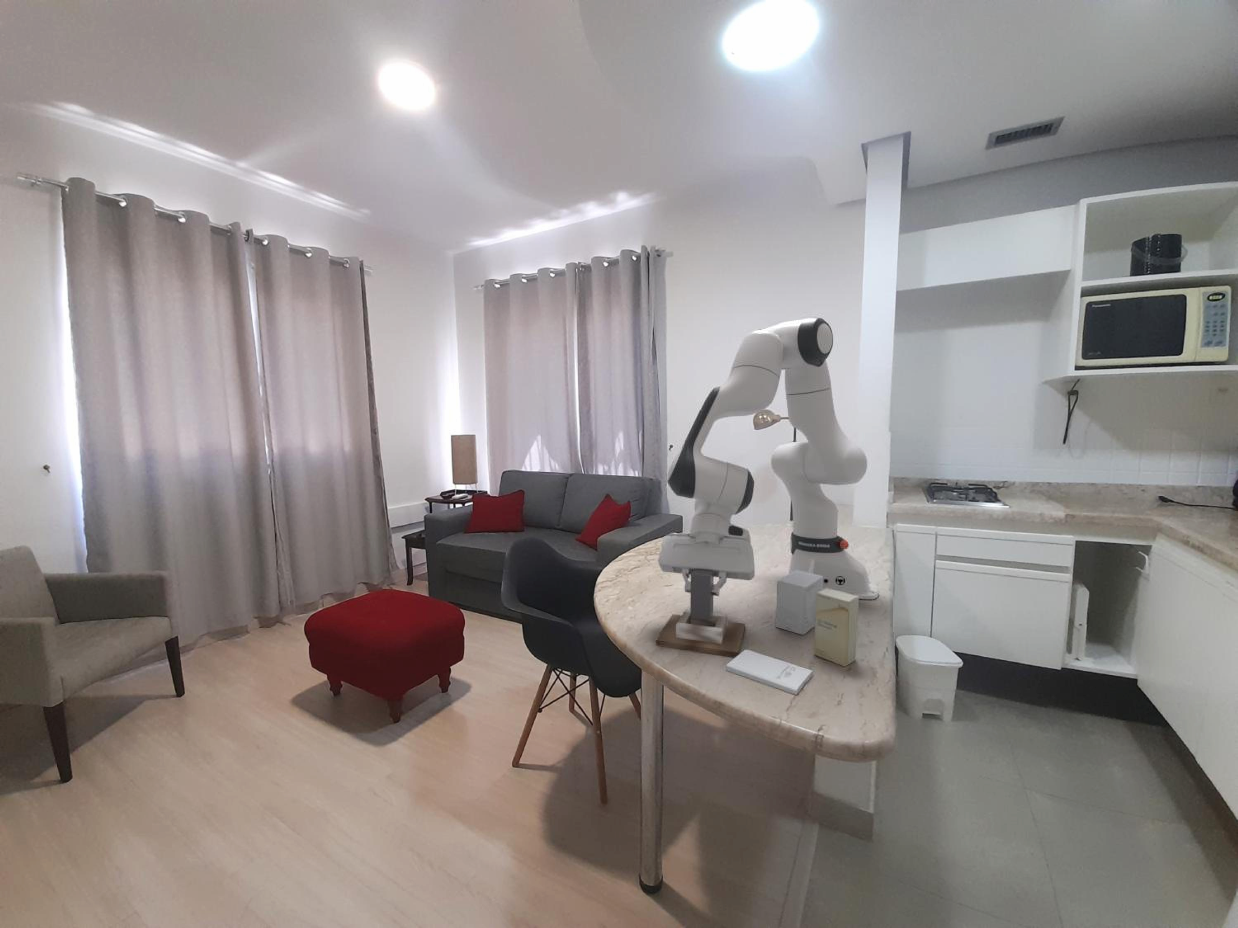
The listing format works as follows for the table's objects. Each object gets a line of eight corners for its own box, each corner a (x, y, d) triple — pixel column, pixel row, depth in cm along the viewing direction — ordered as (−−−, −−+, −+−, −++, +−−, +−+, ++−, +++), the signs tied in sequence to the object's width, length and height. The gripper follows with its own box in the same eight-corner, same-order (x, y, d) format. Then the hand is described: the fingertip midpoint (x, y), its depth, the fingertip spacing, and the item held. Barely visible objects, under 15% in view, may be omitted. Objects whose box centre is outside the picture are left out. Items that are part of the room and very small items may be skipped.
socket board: (745, 627, 101) (745, 612, 101) (738, 657, 88) (738, 639, 88) (672, 618, 107) (672, 603, 107) (655, 644, 94) (655, 627, 94)
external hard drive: (746, 656, 90) (813, 678, 82) (725, 673, 84) (796, 698, 76) (746, 648, 90) (813, 668, 82) (726, 664, 84) (796, 688, 76)
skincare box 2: (813, 654, 89) (814, 592, 88) (824, 647, 92) (825, 586, 91) (846, 667, 84) (848, 601, 83) (857, 659, 87) (859, 595, 86)
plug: (713, 612, 98) (713, 570, 98) (710, 620, 95) (710, 576, 94) (694, 610, 100) (694, 568, 99) (690, 617, 96) (690, 574, 95)
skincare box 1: (804, 636, 97) (805, 586, 97) (774, 627, 102) (775, 579, 101) (823, 620, 105) (824, 574, 104) (794, 613, 109) (795, 569, 109)
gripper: (661, 524, 106) (649, 580, 98) (756, 530, 99) (752, 591, 91) (666, 539, 111) (655, 594, 102) (757, 546, 104) (753, 605, 95)
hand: (701, 592), depth 96 cm, fingers closed on plug, 4 cm apart
